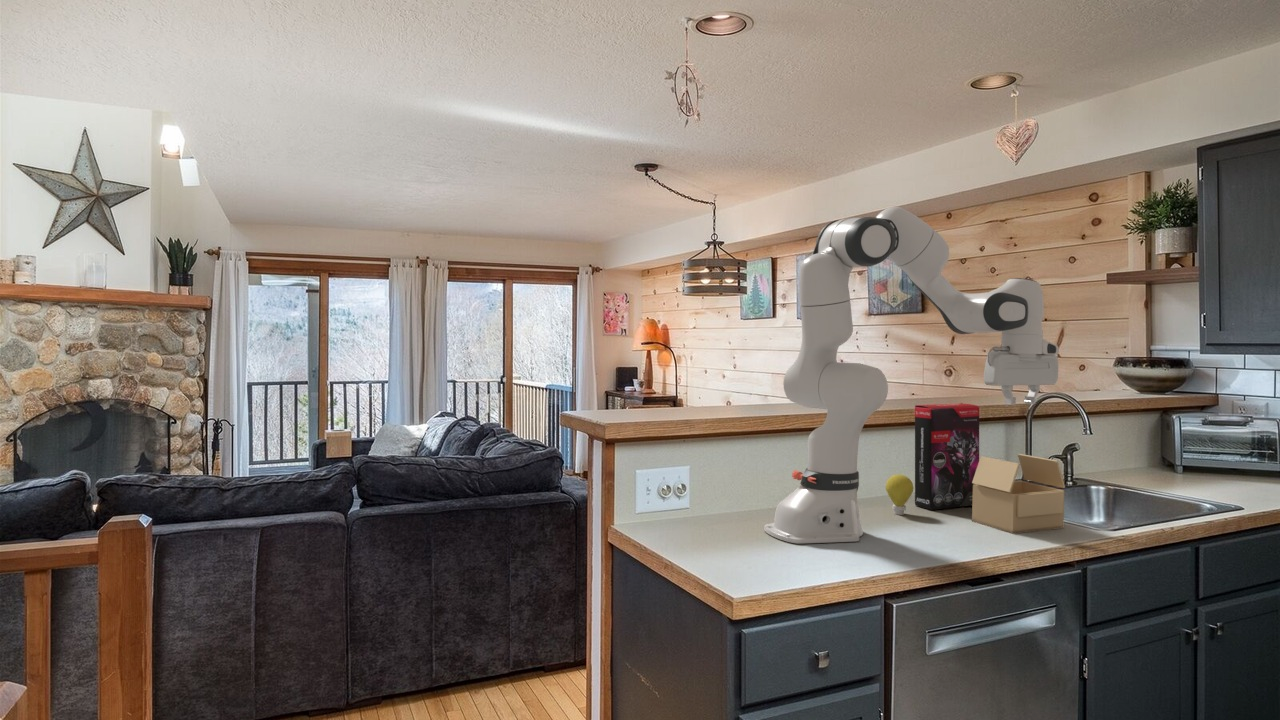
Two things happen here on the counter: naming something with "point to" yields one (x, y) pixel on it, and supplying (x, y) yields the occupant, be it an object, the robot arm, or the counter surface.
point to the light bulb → (899, 492)
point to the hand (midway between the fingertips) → (1020, 404)
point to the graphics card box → (945, 454)
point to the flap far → (1041, 470)
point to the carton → (1019, 507)
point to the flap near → (996, 473)
